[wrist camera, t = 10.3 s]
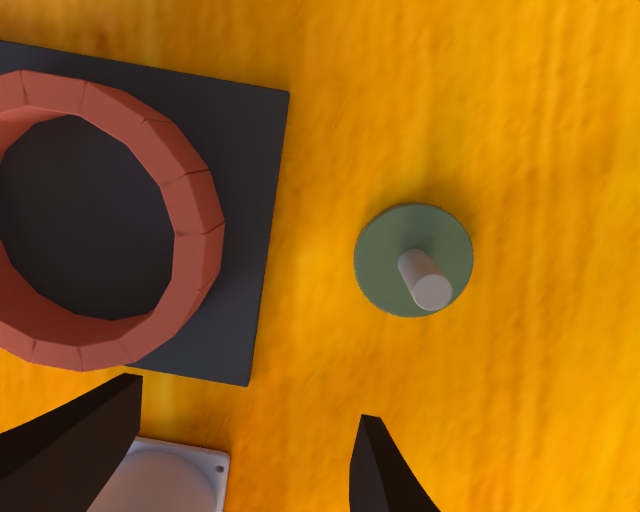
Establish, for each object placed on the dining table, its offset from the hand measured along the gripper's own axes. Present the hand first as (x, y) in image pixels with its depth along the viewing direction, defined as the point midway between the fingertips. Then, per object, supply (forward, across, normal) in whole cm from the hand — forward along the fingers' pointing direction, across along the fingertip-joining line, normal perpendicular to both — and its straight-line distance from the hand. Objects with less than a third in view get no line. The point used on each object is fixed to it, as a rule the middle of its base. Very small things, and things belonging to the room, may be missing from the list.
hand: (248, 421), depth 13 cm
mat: (+9, +10, -3) cm, 14 cm away
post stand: (+9, -6, -4) cm, 12 cm away
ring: (+9, +10, -3) cm, 14 cm away
